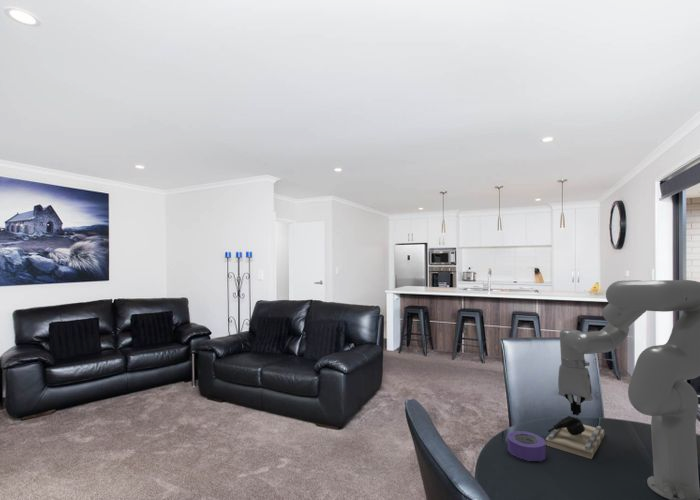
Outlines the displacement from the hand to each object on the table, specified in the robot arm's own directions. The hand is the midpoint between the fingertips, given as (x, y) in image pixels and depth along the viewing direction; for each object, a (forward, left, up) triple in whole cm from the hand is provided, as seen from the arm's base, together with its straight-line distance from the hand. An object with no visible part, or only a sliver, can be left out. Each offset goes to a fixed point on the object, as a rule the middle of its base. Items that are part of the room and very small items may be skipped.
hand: (576, 414), depth 133 cm
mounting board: (0, +1, -10) cm, 10 cm away
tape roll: (-22, +11, -10) cm, 26 cm away
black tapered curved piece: (-5, +3, -7) cm, 9 cm away
